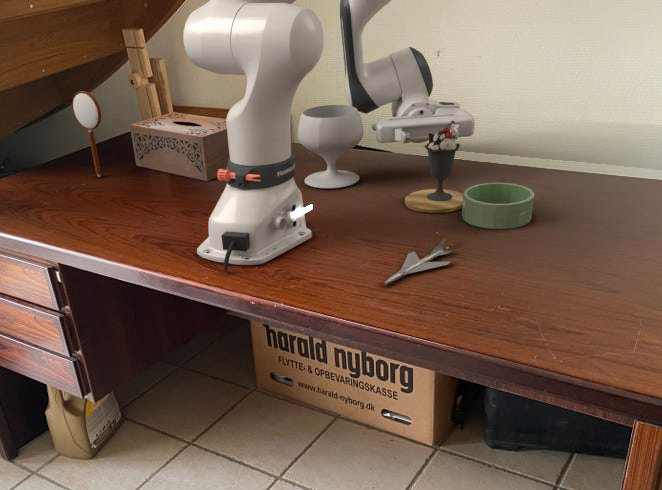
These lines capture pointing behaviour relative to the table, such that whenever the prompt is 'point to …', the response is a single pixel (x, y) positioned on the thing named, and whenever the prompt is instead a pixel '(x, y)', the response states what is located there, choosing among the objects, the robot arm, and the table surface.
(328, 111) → the chalice
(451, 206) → the trivet
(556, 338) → the table surface
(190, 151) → the tissue box cover
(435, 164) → the sundae
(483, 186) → the green shallow round dish
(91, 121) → the magnifying glass
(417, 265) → the toy airplane
